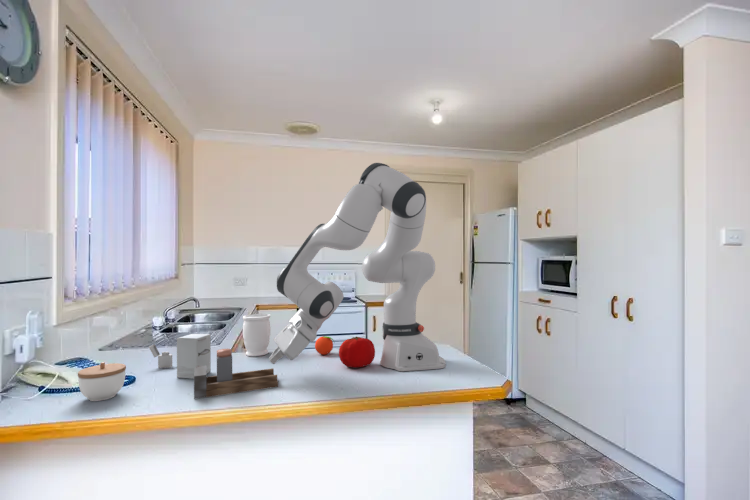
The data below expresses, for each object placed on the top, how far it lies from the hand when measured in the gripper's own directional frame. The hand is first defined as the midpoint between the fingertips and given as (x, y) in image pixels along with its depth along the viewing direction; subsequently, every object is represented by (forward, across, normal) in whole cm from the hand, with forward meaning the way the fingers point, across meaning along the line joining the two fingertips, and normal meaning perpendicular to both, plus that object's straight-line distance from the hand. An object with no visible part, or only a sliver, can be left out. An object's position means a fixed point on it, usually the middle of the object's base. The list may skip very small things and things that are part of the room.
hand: (270, 361), depth 116 cm
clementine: (-12, -24, +21) cm, 34 cm away
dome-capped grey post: (+12, +1, -6) cm, 14 cm away
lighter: (+28, -32, -19) cm, 46 cm away
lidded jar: (+36, -7, -27) cm, 45 cm away
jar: (+5, -37, +4) cm, 37 cm away
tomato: (-16, -4, +25) cm, 30 cm away
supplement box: (+20, -18, -11) cm, 29 cm away
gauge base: (+11, +1, -3) cm, 12 cm away
